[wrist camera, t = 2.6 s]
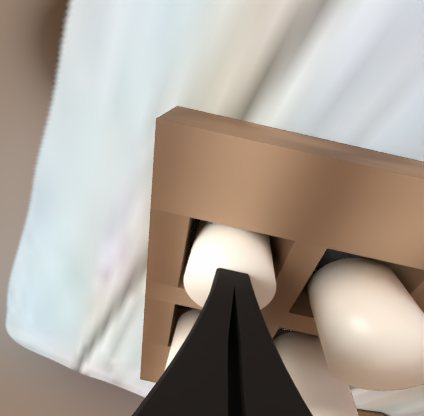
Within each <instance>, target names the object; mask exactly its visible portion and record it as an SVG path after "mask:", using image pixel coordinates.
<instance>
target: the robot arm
mask: <svg viewBox="0 0 424 416" xmlns="http://www.w3.org/2000/svg"><path fill="white" fill-rule="evenodd" d="M132 416H313V415H312V413H311V412H310V410H309V408H308V407H307V405H306V403H305V402H304V400H303V398H302V396H301V395H300V393H299V391H298V389H297V387H296V386H295V384H294V382H293V380H292V378H291V376H290V374H289V372H288V371H287V369H286V367H285V365H284V363H283V361H282V359H281V357H280V355H279V352H278V350H277V348H276V346H275V344H274V342H273V339H272V337H271V335H270V332H269V330H268V328H267V325H266V323H265V320H264V318H263V315H262V313H261V310H260V307H259V305H258V302H257V299H256V296H255V293H254V290H253V287H252V283H251V280H250V276H249V275H248V274H246V273H242V272H237V271H233V270H228V269H224V268H217V269H216V272H215V276H214V279H213V283H212V286H211V290H210V293H209V295H208V297H207V300H206V302H205V304H204V306H203V308H202V310H201V312H200V314H199V316H198V318H197V320H196V322H195V323H194V325H193V327H192V329H191V331H190V332H189V334H188V336H187V337H186V339H185V341H184V342H183V344H182V346H181V347H180V349H179V350H178V352H177V353H176V355H175V357H174V358H173V360H172V361H171V362H170V364H169V365H168V367H167V368H166V370H165V371H164V373H163V374H162V376H161V377H160V379H159V380H158V381H157V383H156V384H155V386H154V387H153V388H152V390H151V391H150V392H149V394H148V395H147V396H146V398H145V399H144V400H143V402H142V403H141V404H140V406H139V407H138V408H137V410H136V411H135V412H134V414H133V415H132Z"/></svg>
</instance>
